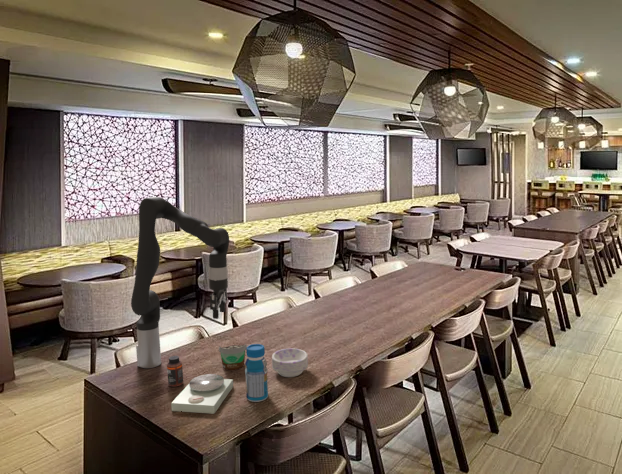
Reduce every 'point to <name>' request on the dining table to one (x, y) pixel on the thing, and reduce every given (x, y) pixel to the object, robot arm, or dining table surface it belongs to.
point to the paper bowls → (290, 362)
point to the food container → (233, 357)
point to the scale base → (201, 399)
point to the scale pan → (206, 382)
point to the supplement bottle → (174, 371)
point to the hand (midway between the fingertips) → (219, 315)
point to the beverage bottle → (256, 373)
